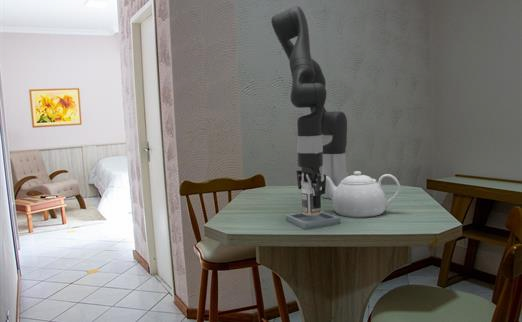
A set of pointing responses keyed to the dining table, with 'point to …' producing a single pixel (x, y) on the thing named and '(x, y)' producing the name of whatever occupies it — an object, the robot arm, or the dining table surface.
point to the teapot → (360, 195)
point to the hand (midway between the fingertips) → (311, 205)
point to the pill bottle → (308, 201)
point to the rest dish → (312, 220)
